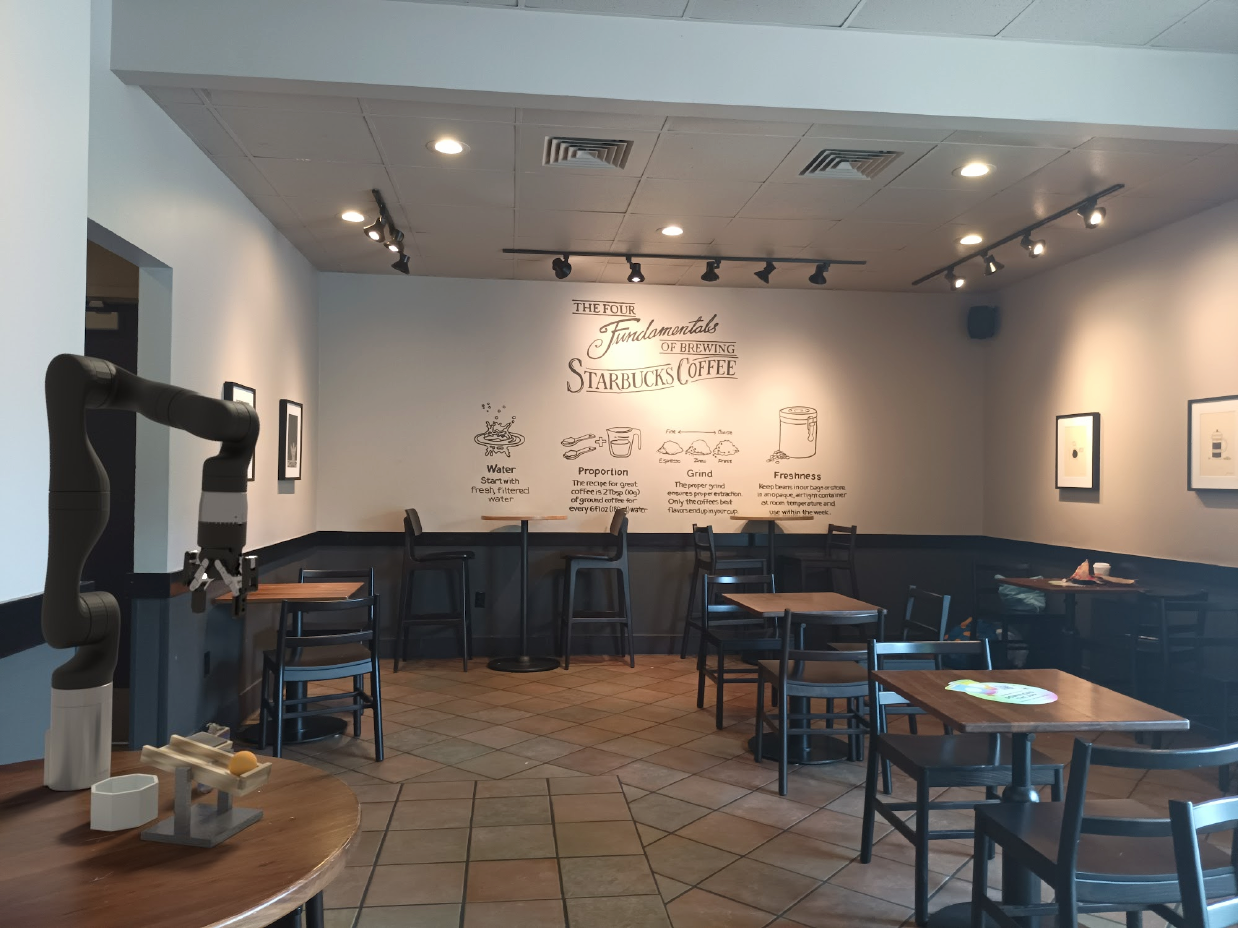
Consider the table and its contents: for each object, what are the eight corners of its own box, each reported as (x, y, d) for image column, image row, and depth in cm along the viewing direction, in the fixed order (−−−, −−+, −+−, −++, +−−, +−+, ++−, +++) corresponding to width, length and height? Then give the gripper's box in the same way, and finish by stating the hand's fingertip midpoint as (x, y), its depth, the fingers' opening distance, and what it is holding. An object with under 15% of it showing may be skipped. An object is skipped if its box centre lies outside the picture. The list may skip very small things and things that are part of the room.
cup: (76, 827, 132) (77, 790, 132) (122, 805, 141) (123, 772, 141) (125, 832, 130) (126, 796, 130) (170, 811, 139) (170, 776, 139)
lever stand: (140, 839, 127) (142, 767, 128) (197, 810, 139) (199, 744, 139) (210, 847, 125) (212, 774, 125) (263, 817, 136) (264, 749, 137)
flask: (209, 793, 147) (210, 730, 147) (191, 794, 146) (192, 730, 147) (231, 776, 156) (232, 716, 156) (215, 776, 156) (216, 716, 156)
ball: (220, 777, 129) (225, 752, 129) (237, 769, 133) (242, 744, 133) (243, 785, 128) (248, 759, 128) (259, 777, 132) (265, 751, 132)
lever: (137, 763, 131) (141, 743, 130) (200, 737, 144) (204, 719, 144) (238, 798, 126) (242, 778, 126) (293, 769, 140) (297, 750, 140)
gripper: (172, 517, 144) (167, 614, 143) (238, 522, 139) (233, 622, 138) (208, 515, 151) (203, 608, 151) (272, 520, 146) (268, 616, 145)
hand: (218, 615), depth 144 cm, fingers open, 8 cm apart
